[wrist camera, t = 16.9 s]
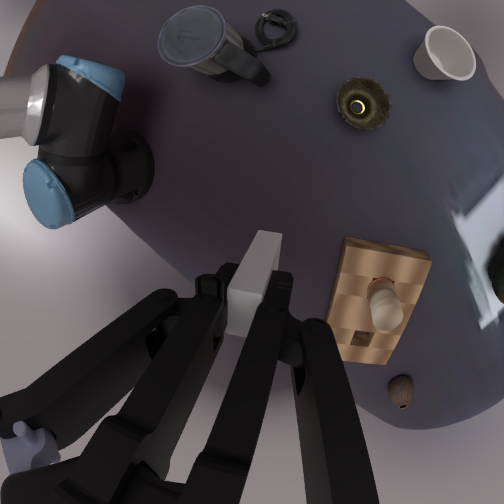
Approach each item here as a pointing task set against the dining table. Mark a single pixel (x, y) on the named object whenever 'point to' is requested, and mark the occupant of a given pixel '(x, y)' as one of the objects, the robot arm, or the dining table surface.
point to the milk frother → (219, 44)
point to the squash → (497, 272)
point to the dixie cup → (444, 55)
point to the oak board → (357, 302)
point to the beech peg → (384, 304)
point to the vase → (401, 391)
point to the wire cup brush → (363, 103)
